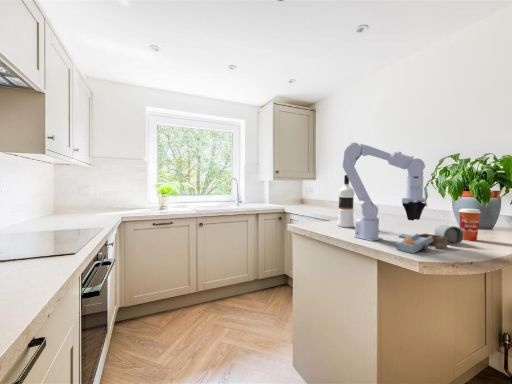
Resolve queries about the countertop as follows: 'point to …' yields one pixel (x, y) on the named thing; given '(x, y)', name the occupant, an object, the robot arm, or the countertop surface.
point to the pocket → (436, 240)
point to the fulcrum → (424, 249)
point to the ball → (408, 241)
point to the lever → (418, 243)
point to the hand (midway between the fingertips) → (413, 219)
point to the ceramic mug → (450, 234)
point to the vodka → (346, 205)
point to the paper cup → (469, 223)
